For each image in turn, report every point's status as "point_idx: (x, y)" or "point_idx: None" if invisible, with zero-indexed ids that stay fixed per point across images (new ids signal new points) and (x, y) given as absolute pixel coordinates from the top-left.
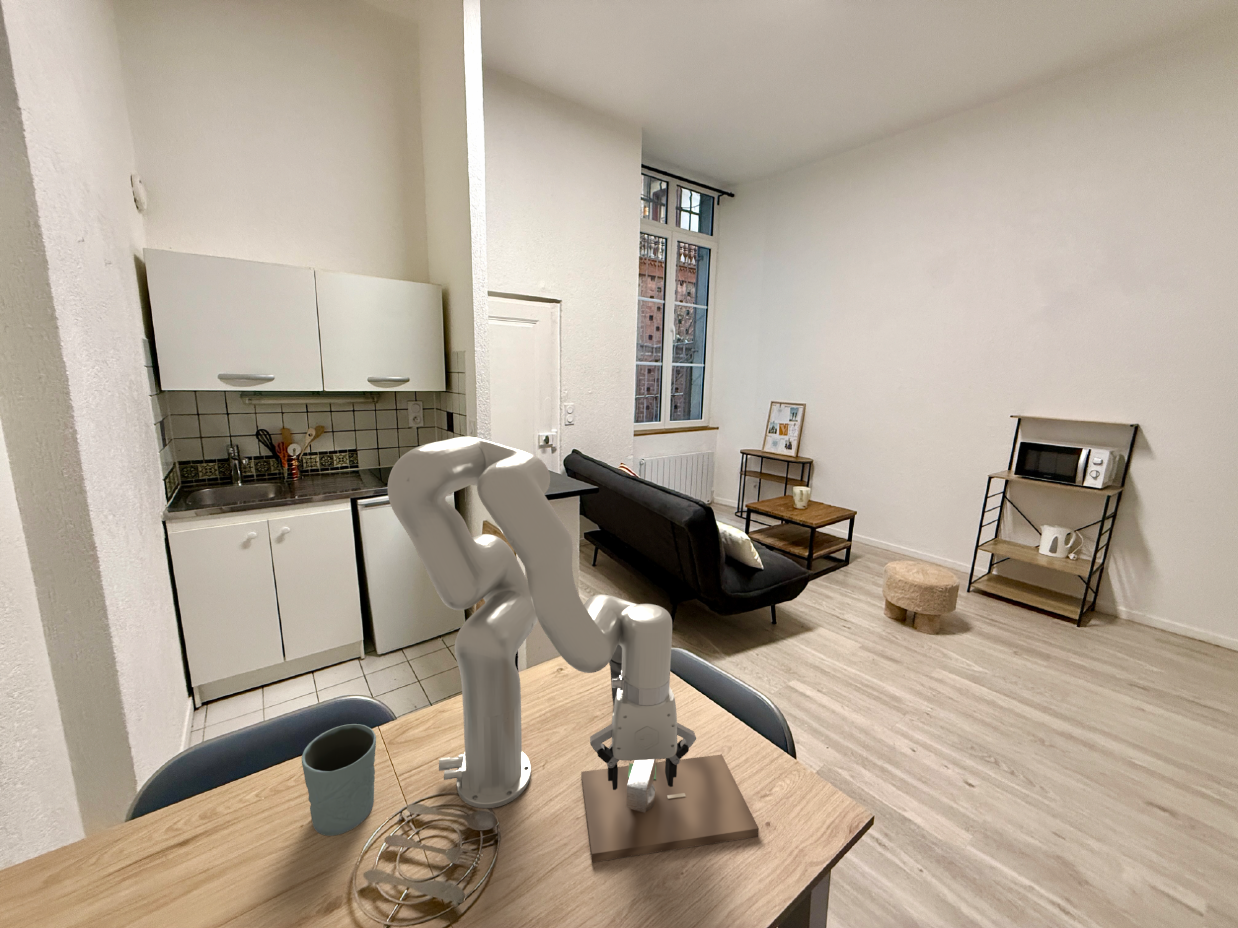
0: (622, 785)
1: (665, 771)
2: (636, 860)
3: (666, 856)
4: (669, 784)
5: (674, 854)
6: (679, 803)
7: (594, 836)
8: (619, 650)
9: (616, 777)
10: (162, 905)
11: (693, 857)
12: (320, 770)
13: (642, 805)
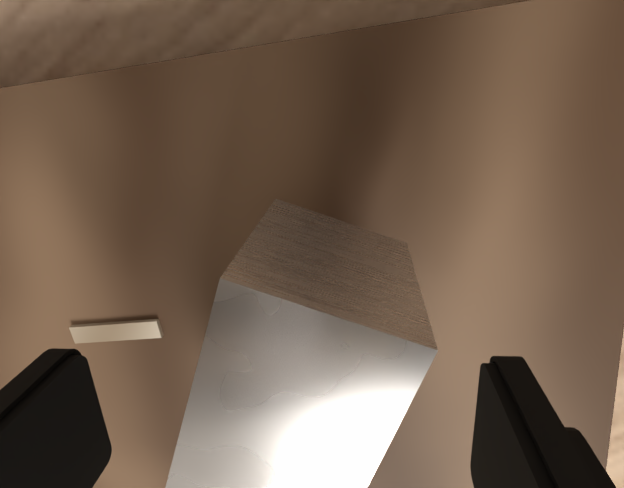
0: None
1: (101, 456)
2: (355, 4)
3: (190, 28)
4: (66, 360)
5: (148, 40)
6: (101, 291)
7: (618, 109)
8: None
9: (541, 448)
10: None
11: (52, 21)
12: None
13: (287, 219)
